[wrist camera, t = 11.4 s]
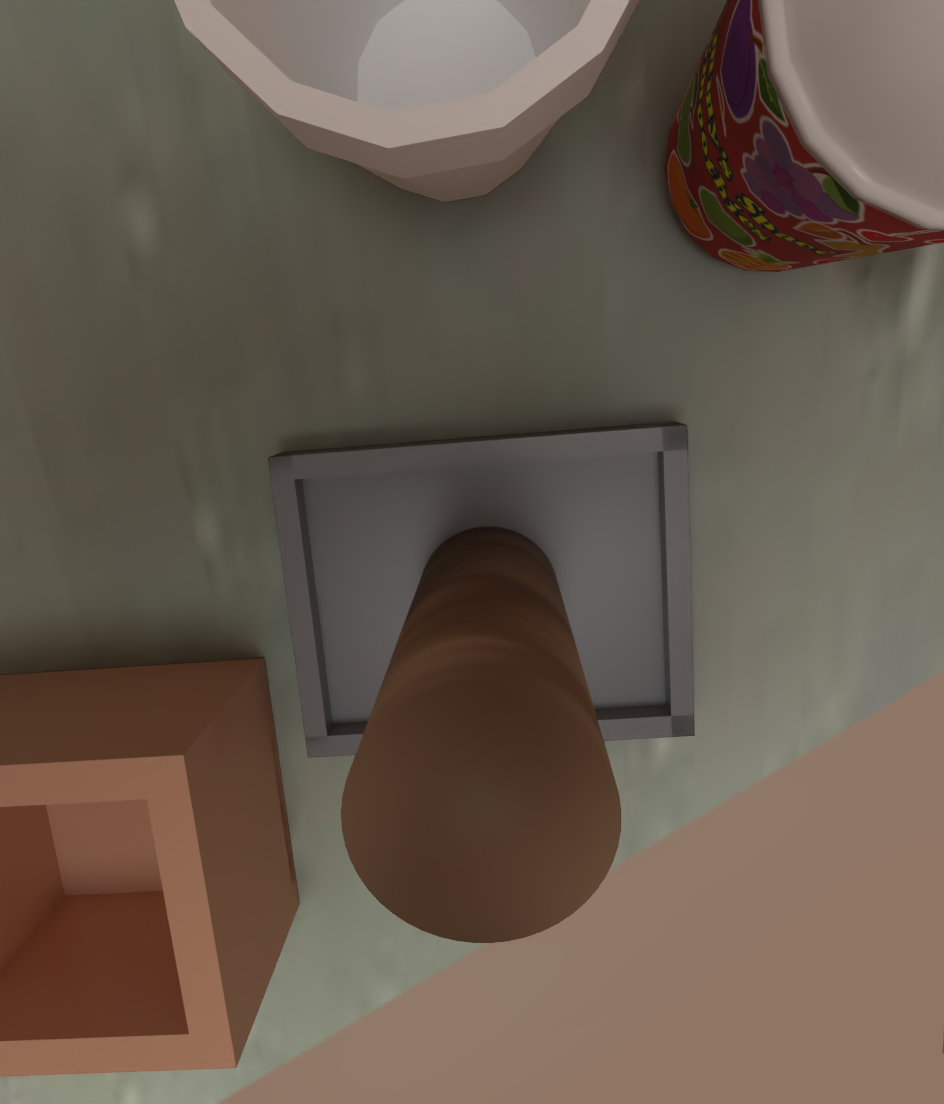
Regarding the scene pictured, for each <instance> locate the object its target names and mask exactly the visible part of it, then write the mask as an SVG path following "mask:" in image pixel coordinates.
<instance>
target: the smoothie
mask: <svg viewBox="0 0 944 1104" xmlns="http://www.w3.org/2000/svg"><path fill="white" fill-rule="evenodd" d="M665 171H666V176H667V181H668V186H669V191H670V196H671V201H672V205H673V207H674V209H675V211H676V212H677V214H678V216H679V218H680V220H681V222H682V223H683V225H684V227H685V229H686V231H687V232H688V234H689V235H690V236H691V237H692V238H693V239H694V240H695V241H696V242H697V243H699V244H700V245H701V246H702V247H703V248H704V249H705V250H706V251H708V252H709V253H710V254H711V255H712V256H713V257H715V258H717V259H719V260H722V261H724V262H727V263H729V264H731V265H734V266H736V267H739V268H741V269H743V270H755V271H774V272H779V271H783V270H789V269H795V268H800V267H806V266H812V265H817V264H823V263H829V262H834V261H840V260H846V259H851V258H857V257H863V256H868V255H874V254H880V253H885V252H891V251H897V250H902V249H908V248H914V247H919V246H925V245H931V244H936V243H942V242H944V0H727V2H726V5H725V7H724V9H723V11H722V13H721V16H720V18H719V20H718V22H717V25H716V27H715V29H714V31H713V33H712V36H711V38H710V40H709V42H708V44H707V47H706V49H705V51H704V53H703V55H702V58H701V60H700V62H699V64H698V66H697V69H696V71H695V73H694V75H693V77H692V80H691V82H690V84H689V86H688V88H687V91H686V93H685V95H684V97H683V99H682V102H681V104H680V106H679V109H678V111H677V114H676V116H675V119H674V121H673V124H672V126H671V129H670V131H669V137H668V147H667V156H666V166H665Z"/></svg>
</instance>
